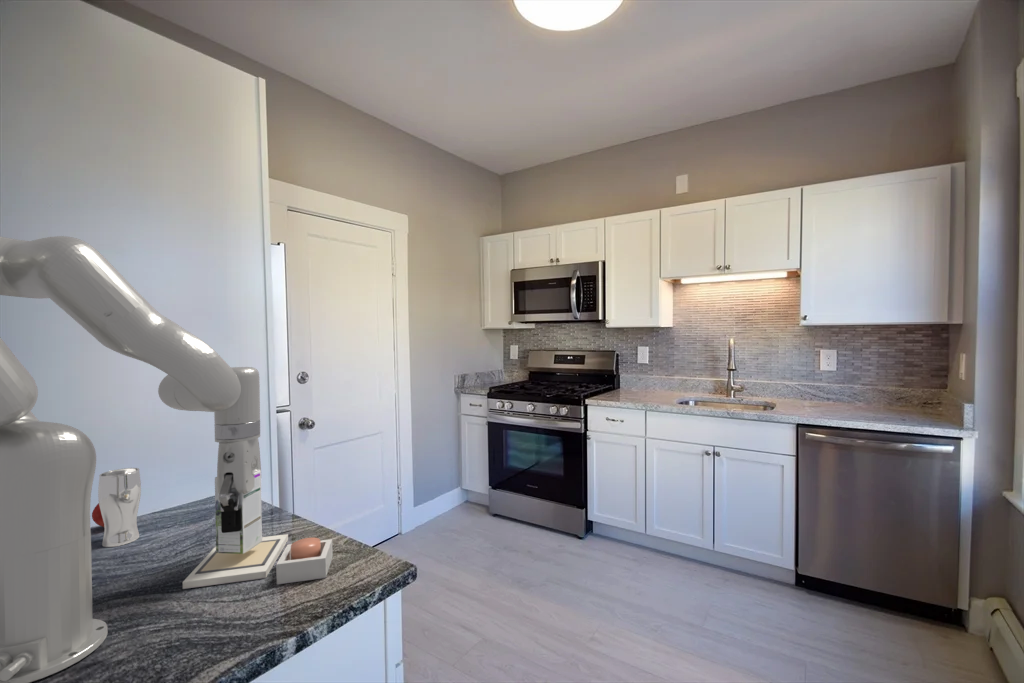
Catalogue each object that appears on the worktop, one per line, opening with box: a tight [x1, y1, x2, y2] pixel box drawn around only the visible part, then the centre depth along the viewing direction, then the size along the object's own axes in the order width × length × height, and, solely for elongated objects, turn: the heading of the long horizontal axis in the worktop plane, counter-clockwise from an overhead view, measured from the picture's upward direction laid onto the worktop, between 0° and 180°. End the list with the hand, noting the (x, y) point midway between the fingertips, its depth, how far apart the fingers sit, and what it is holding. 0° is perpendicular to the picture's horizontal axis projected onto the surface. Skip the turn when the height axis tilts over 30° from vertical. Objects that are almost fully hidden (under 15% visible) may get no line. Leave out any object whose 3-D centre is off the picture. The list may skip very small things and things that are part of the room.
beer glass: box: [97, 467, 142, 548], centre depth 97 cm, size 7×7×15 cm
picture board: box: [182, 534, 289, 590], centre depth 86 cm, size 16×13×1 cm
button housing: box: [275, 538, 334, 585], centre depth 82 cm, size 8×8×4 cm
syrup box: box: [214, 469, 263, 554], centre depth 86 cm, size 6×6×14 cm
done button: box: [291, 537, 321, 560], centre depth 82 cm, size 5×5×2 cm
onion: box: [91, 502, 104, 528], centre depth 104 cm, size 6×6×8 cm
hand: (239, 522), depth 86 cm, fingers closed on syrup box, 7 cm apart
